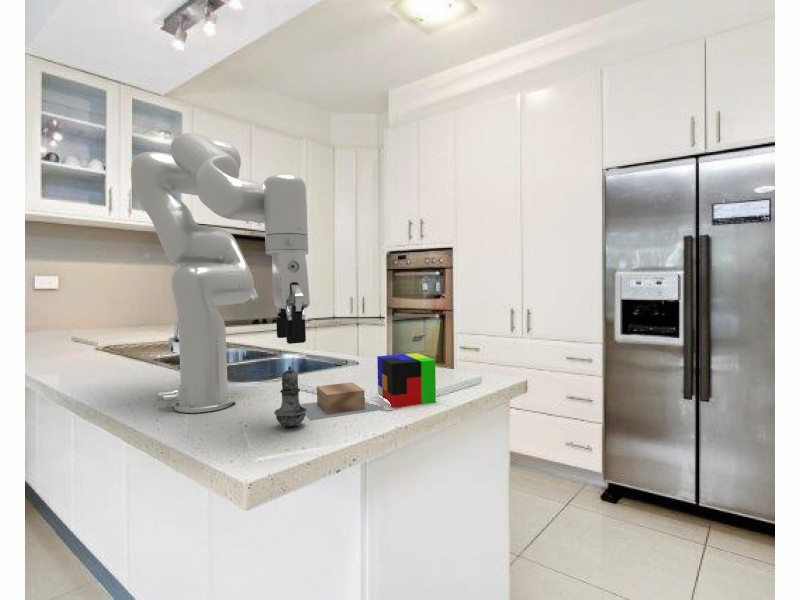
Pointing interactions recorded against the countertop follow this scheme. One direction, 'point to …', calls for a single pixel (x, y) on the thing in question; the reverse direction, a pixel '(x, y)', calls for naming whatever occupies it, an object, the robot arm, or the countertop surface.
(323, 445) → the countertop surface
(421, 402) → the puzzle toy
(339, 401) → the base block
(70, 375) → the countertop surface
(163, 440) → the countertop surface
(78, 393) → the countertop surface
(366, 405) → the slate mat
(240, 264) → the robot arm
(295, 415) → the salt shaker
